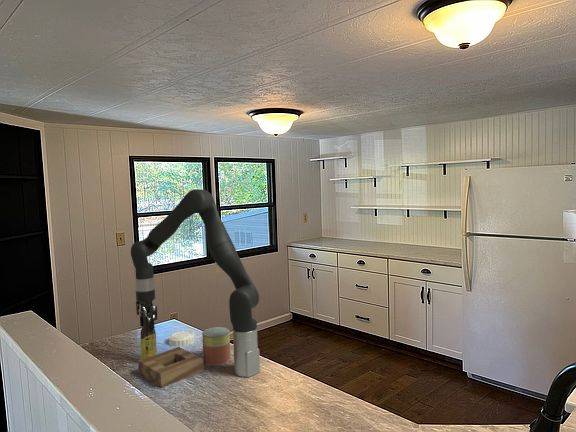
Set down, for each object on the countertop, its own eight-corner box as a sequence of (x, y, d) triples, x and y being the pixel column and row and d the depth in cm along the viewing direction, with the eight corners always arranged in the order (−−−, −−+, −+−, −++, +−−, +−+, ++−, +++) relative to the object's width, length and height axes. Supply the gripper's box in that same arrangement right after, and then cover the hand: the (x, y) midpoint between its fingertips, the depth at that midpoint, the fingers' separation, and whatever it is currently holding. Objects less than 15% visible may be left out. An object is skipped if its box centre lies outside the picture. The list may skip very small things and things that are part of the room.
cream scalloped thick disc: (200, 340, 201) (200, 332, 201) (181, 349, 191) (181, 341, 191) (182, 335, 208) (182, 328, 207) (163, 344, 197) (162, 336, 197)
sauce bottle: (146, 365, 174) (144, 318, 172) (137, 362, 177) (135, 315, 176) (160, 360, 179) (158, 313, 177) (151, 356, 183) (148, 311, 181)
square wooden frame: (203, 371, 167) (203, 358, 167) (161, 387, 155) (160, 374, 154) (179, 358, 180) (178, 346, 180) (138, 372, 168) (137, 360, 167)
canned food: (233, 354, 183) (232, 327, 182) (227, 365, 172) (225, 336, 171) (207, 354, 184) (206, 326, 183) (199, 365, 173) (198, 336, 172)
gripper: (162, 289, 173) (164, 329, 174) (145, 284, 183) (147, 321, 185) (144, 293, 168) (147, 334, 169) (128, 287, 178) (130, 326, 179)
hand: (147, 327), depth 177 cm, fingers open, 7 cm apart
